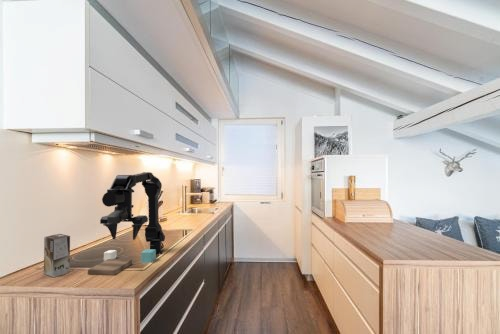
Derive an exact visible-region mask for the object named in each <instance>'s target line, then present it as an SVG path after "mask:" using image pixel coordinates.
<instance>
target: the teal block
mask: <svg viewBox="0 0 500 334" xmlns="http://www.w3.org/2000/svg"><path fill="white" fill-rule="evenodd" d="M155 259H156V260H157V254H156V249H150V248H149V249H147V248H146V249H144V250H143V251H142V252H140V263H142V264H150V263H149V262H151V263H153V262H154V261H156V260H155ZM153 260H154V261H153ZM152 261H153V262H152Z"/></svg>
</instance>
